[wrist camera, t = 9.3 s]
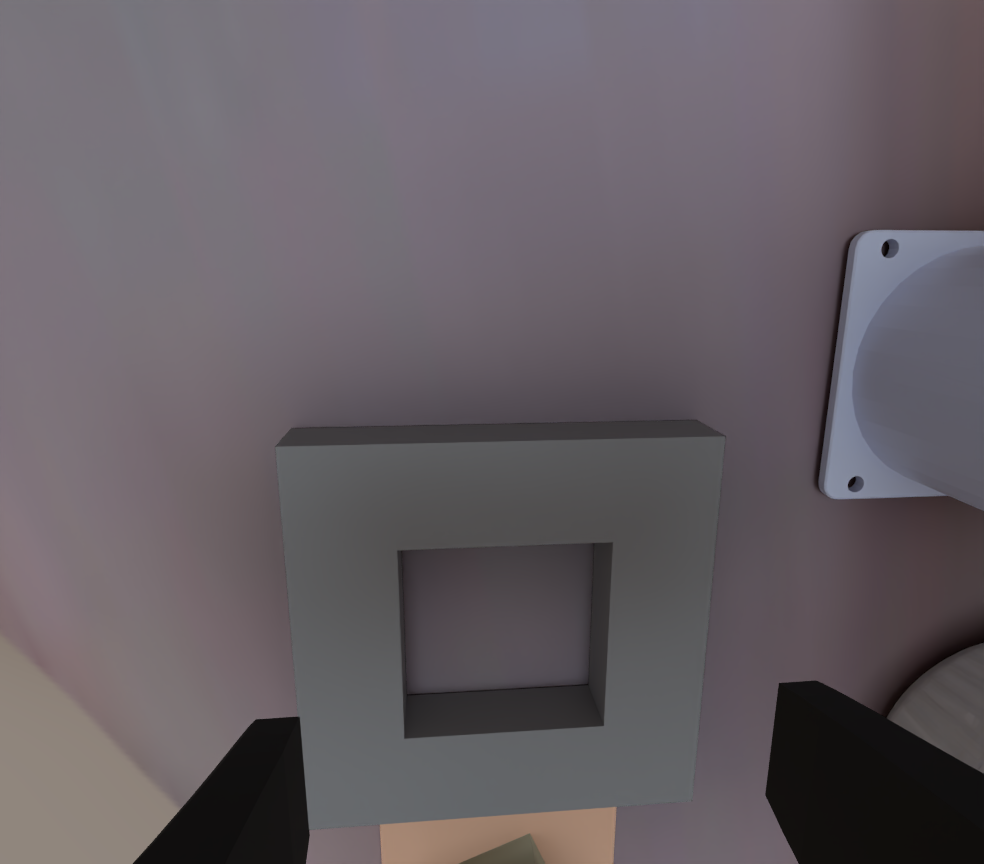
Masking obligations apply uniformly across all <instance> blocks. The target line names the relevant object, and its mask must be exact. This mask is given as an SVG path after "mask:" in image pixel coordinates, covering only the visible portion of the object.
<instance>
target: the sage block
mask: <svg viewBox="0 0 984 864" xmlns="http://www.w3.org/2000/svg"><path fill="white" fill-rule="evenodd" d="M459 864H545V862H544V860H543V858H542V856H541V854H540V852H539V850H538V848H537V846H536V844H535V842H534V840H533V838H532V836H531V834H530V833H529V834H527V835H524V836H522V837H520V838H517V839H515V840H513V841H510V842H508V843H506V844H503V845H501V846H499V847H496V848H494V849H492V850H489V851H487V852H484V853H482V854H480V855H477V856H475V857H473V858H470V859H468V860H466V861H463V862H461V863H459Z"/></svg>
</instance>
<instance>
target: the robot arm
mask: <svg viewBox="0 0 984 864" xmlns="http://www.w3.org/2000/svg"><path fill="white" fill-rule="evenodd" d="M885 241H887V242H888V244H889V251H888V254H887V255H886V256H885V257H884V256H883V255H882V252H881V248H882V245H883V243H884V242H885ZM855 476H856V481H855V483H854V485H853V486H852V487H849V488H848V482H849V480H850V479H851V478H852V477H855ZM819 488H820V490H821V492H822V493H823V494H825V495H826V496H828V497H830V498H832V499H868V498H898V497H929V496H950V497H952V498H955V499H957V500H959V501H962V502H964V503H966V504H968V505H971V506H973V507H975V508H978V509H980V510H982V511H984V231H947V230H870V231H864V232H861V233H859V234H858V235H856V236H855V237H854V238H853V240H852V241H851V243H850V247H849V251H848V259H847V267H846V274H845V282H844V290H843V297H842V305H841V313H840V320H839V328H838V336H837V343H836V351H835V359H834V366H833V374H832V382H831V390H830V397H829V405H828V413H827V420H826V428H825V436H824V443H823V451H822V459H821V466H820V474H819ZM766 797H767V799H768V801H769V804H770V806H771V808H772V810H773V812H774V814H775V816H776V818H777V821H778V823H779V825H780V827H781V829H782V831H783V833H784V835H785V837H786V839H787V841H788V843H789V845H790V847H791V849H792V851H793V853H794V855H795V857H796V859H797V861H798V863H799V864H984V773H982V772H980V771H978V770H976V769H975V768H973V767H971V766H969V765H967V764H966V763H964V762H962V761H960V760H959V759H957V758H955V757H953V756H952V755H950V754H948V753H946V752H944V751H943V750H941V749H939V748H937V747H936V746H934V745H932V744H930V743H929V742H927V741H925V740H923V739H922V738H920V737H918V736H916V735H915V734H913V733H911V732H909V731H908V730H906V729H904V728H903V727H901V726H899V725H897V724H896V723H894V722H892V721H890V720H889V719H887V718H885V717H883V716H882V715H880V714H878V713H876V712H875V711H873V710H871V709H869V708H868V707H866V706H864V705H862V704H860V703H859V702H857V701H855V700H853V699H851V698H850V697H848V696H846V695H844V694H842V693H840V692H838V691H836V690H835V689H833V688H831V687H829V686H827V685H825V684H823V683H820V682H818V681H803V682H789V683H779V688H778V696H777V704H776V712H775V720H774V729H773V737H772V745H771V753H770V762H769V770H768V778H767V786H766ZM308 843H309V823H308V811H307V798H306V786H305V774H304V762H303V750H302V738H301V725H300V717H286V718H272V719H257V720H255V721H254V722H253V723H252V724H251V725H250V726H249V727H248V728H247V729H246V731H245V732H244V733H243V734H242V736H241V737H240V738H239V739H238V740H237V742H236V743H235V744H234V745H233V747H232V748H231V749H230V750H229V752H228V753H227V754H226V755H225V757H224V758H223V759H222V760H221V762H220V763H219V764H218V765H217V767H216V768H215V769H214V770H213V771H212V773H211V774H210V775H209V776H208V777H207V779H206V780H205V781H204V782H203V784H202V785H201V786H200V787H199V788H198V790H197V791H196V792H195V793H194V794H193V796H192V797H191V798H190V799H189V800H188V801H187V803H186V804H185V805H184V806H183V807H182V808H181V809H180V811H179V812H178V813H177V814H176V815H175V816H174V818H173V819H172V820H171V821H170V822H169V823H168V825H167V826H166V827H165V828H164V829H163V830H162V831H161V833H160V834H159V835H158V836H157V838H155V840H154V841H153V842H152V843H151V844H150V845H149V846H148V847H147V849H146V850H145V851H144V852H143V853H142V854H141V855H140V856H139V857H138V858H137V860H136V861H135V862H134V863H133V864H306V858H307V850H308Z"/></svg>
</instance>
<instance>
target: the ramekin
mask: <svg viewBox="0 0 984 864" xmlns="http://www.w3.org/2000/svg"><path fill="white" fill-rule="evenodd" d="M887 719H889V720H890V721H892V722H894V723H896V724H897V725H899V726H901V727H903V728H904V729H906V730H908V731H909V732H911V733H913V734H915V735H916V736H918V737H920V738H922V739H923V740H925V741H927V742H929V743H930V744H932V745H934V746H936V747H937V748H939V749H941V750H943V751H944V752H946V753H948V754H950V755H952V756H953V757H955V758H957V759H959V760H960V761H962V762H964V763H966V764H967V765H969V766H971V767H973V768H975V769H976V770H978V771H980V772H982V773H984V643H981V644H978V645H975V646H972V647H969V648H966V649H964V650H962V651H959V652H958V653H956V654H954V655H952V656H950V657H948V658H946V659H944V660H943V661H941V662H939V663H938V664H936V665H935V666H934V667H932V668H931V669H929V670H928V671H927V672H925V673H924V674H923V675H922V676H920V677H919V678H918V679H917V680H916V681H915V682H914V683H913V684H912V685H911V686H910V687H909V688H908V689H907V690H906V691H905V692H904V693H903V694H902V695H901V697H900V698H899V700H898V701H897V702H896V704H895V705H894V707H893V708H892V710H891V711H890V712H889V714H888V716H887Z"/></svg>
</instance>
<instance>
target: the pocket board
mask: <svg viewBox="0 0 984 864" xmlns="http://www.w3.org/2000/svg"><path fill="white" fill-rule="evenodd" d="M725 438H726V436H724V435H722V434H721V433H719V432H717V431H715V430H713V429H712V428H710V427H708V426H706V425H705V424H703V423H701V422H699V421H697V420H671V421H622V422H573V423H525V424H476V425H428V426H379V427H330V428H291V429H290V431H289V432H288V433H287V434H286V435H285V436H284V437H283V438H282V440H281V441H280V442H279V443H278V444H277V445H276V446H275V451H276V463H277V475H278V487H279V499H280V510H281V522H282V534H283V546H284V558H285V570H286V582H287V594H288V605H289V617H290V629H291V641H292V653H293V665H294V677H295V688H296V700H297V712H298V717H300V725H301V738H302V750H303V762H304V774H305V786H306V798H307V811H308V823H309V830H314V829H327V828H341V827H354V826H367V825H381V824H394V823H408V822H421V821H434V820H448V819H461V818H474V817H488V816H501V815H514V814H528V813H541V812H554V811H568V810H581V809H595V808H608V807H621V806H635V805H648V804H661V803H675V802H688V801H692V798H693V787H694V776H695V765H696V754H697V743H698V732H699V721H700V710H701V700H702V689H703V678H704V667H705V656H706V645H707V634H708V623H709V612H710V601H711V590H712V580H713V569H714V558H715V547H716V536H717V525H718V514H719V503H720V492H721V481H722V471H723V460H724V449H725ZM582 543H594V562H593V586H592V610H591V633H590V657H589V680H588V685H581V686H564V687H546V688H529V689H512V690H494V691H477V692H459V693H442V694H425V695H407V687H406V659H405V632H404V604H403V577H402V550H422V549H449V548H475V547H502V546H529V545H555V544H582Z"/></svg>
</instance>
